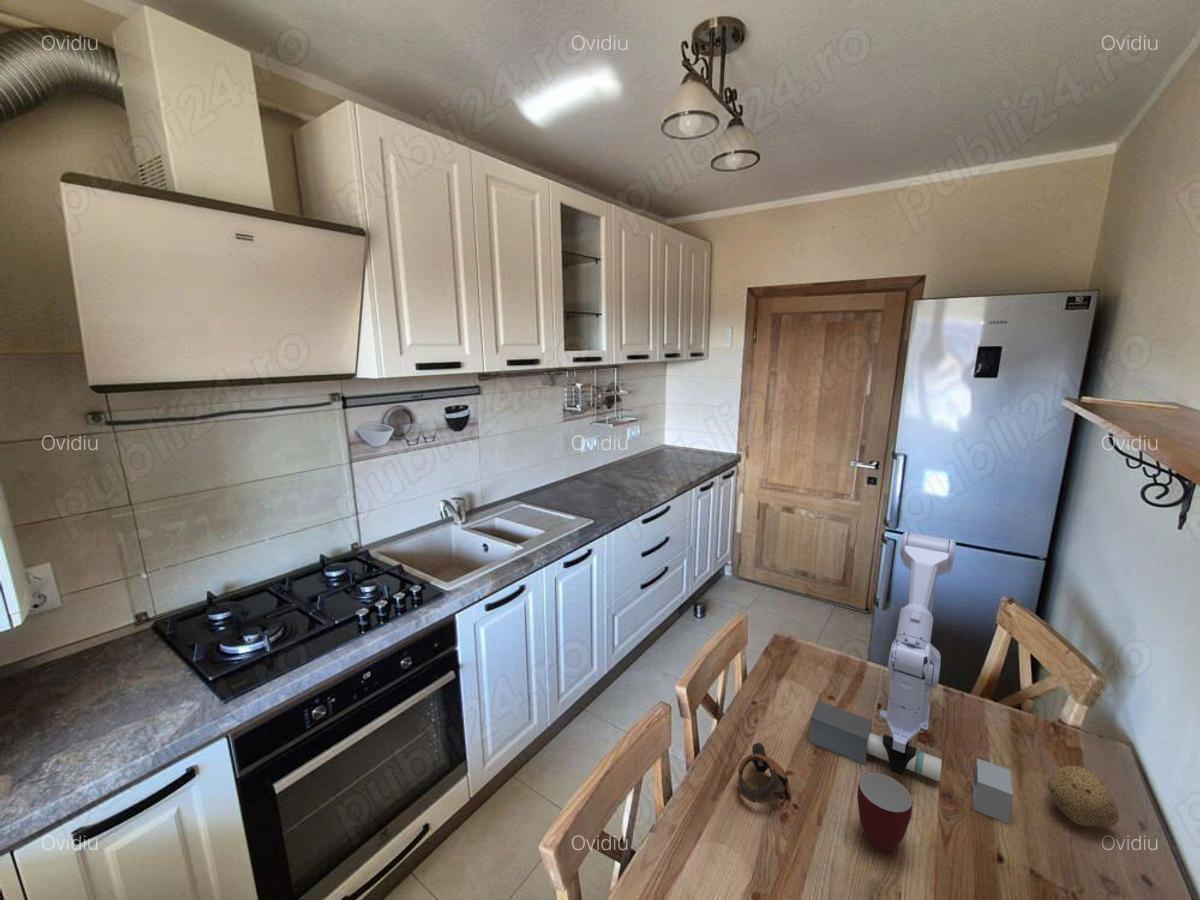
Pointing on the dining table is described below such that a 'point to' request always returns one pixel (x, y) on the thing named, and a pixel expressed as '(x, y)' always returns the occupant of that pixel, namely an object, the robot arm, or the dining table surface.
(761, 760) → the brown ring clamp
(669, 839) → the dining table surface
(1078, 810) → the natural sponge
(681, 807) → the dining table surface
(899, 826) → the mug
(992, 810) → the socket
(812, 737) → the grey stone block
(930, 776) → the tube
